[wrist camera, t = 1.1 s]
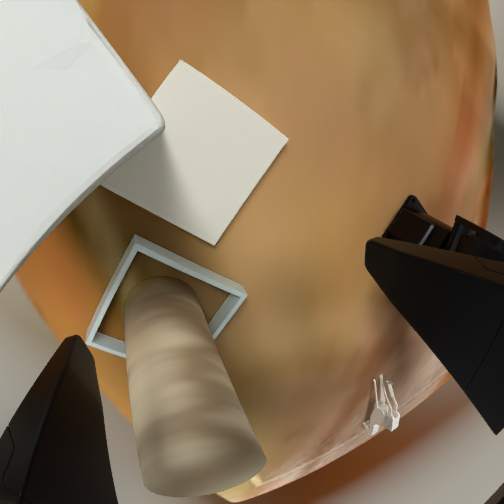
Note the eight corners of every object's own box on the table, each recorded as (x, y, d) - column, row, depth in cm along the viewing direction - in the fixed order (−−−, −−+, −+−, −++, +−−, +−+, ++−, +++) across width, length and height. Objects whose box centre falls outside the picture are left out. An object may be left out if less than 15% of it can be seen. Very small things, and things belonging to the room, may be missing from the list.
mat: (284, 138, 20) (288, 139, 20) (212, 242, 22) (214, 245, 21) (179, 61, 16) (180, 59, 15) (99, 182, 17) (98, 184, 17)
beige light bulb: (212, 293, 24) (290, 448, 12) (176, 346, 25) (224, 496, 13) (144, 263, 21) (177, 444, 9) (112, 323, 22) (126, 493, 10)
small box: (15, 100, 12) (-135, 104, 1) (92, 30, 12) (13, -84, 1) (85, 190, 16) (-11, 312, 5) (164, 123, 16) (177, 121, 5)
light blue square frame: (241, 285, 24) (247, 295, 23) (184, 363, 26) (187, 375, 25) (134, 233, 19) (135, 242, 18) (86, 331, 21) (85, 343, 20)
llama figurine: (349, 362, 48) (362, 429, 51) (389, 390, 37) (394, 459, 40) (358, 357, 48) (370, 425, 51) (398, 384, 37) (402, 453, 40)
